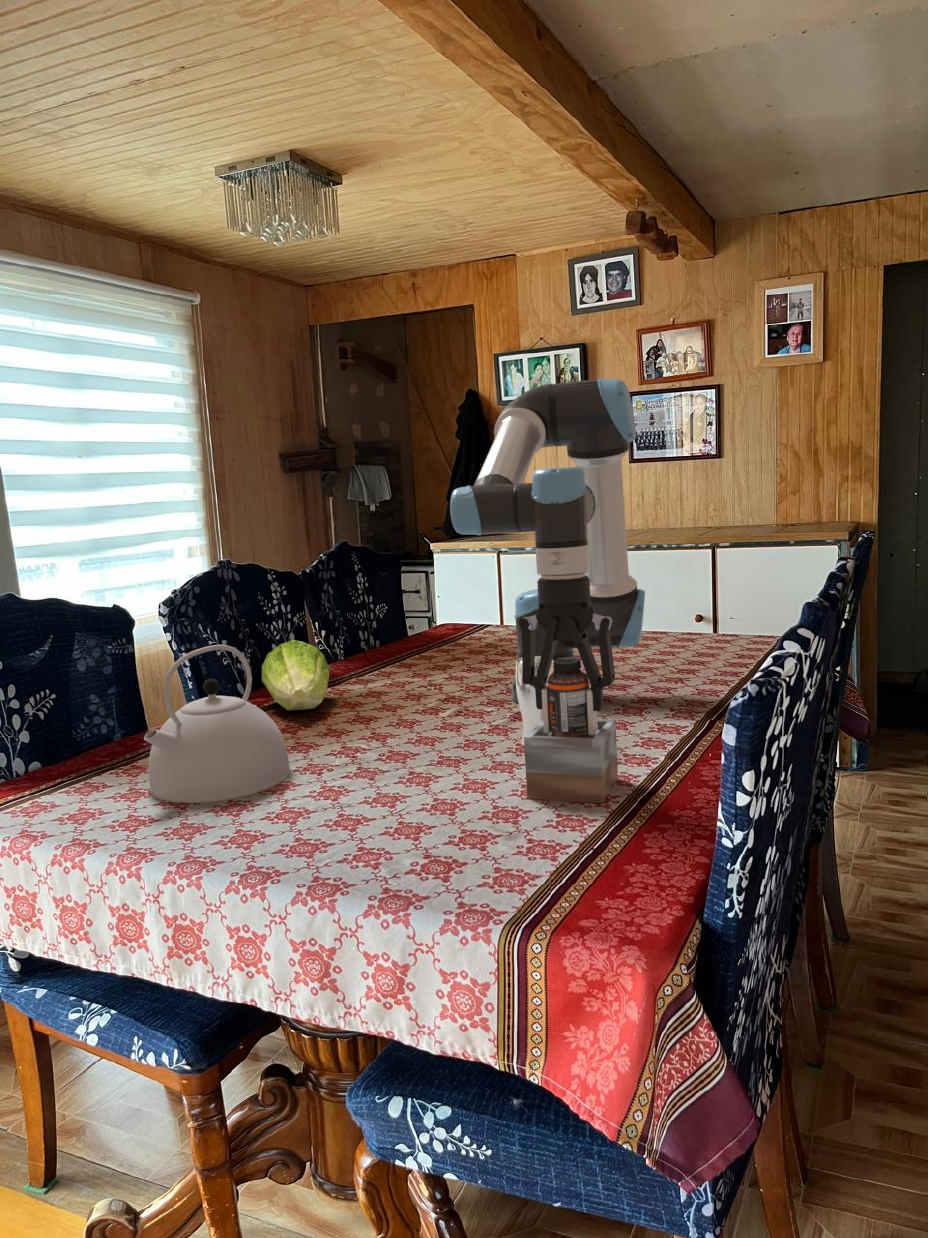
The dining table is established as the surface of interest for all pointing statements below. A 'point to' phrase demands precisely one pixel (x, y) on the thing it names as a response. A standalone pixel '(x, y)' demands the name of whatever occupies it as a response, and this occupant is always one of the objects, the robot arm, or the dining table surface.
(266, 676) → the lettuce
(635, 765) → the dining table surface
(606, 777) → the wooden box
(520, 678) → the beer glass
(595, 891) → the dining table surface
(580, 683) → the supplement bottle
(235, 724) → the kettle
